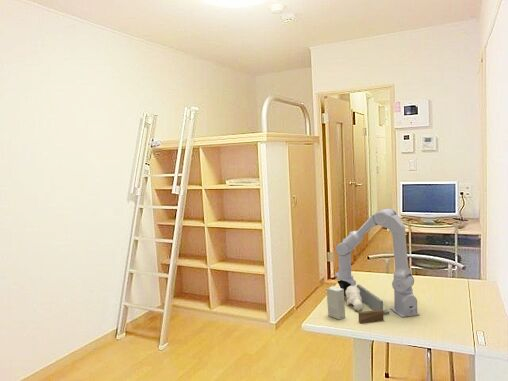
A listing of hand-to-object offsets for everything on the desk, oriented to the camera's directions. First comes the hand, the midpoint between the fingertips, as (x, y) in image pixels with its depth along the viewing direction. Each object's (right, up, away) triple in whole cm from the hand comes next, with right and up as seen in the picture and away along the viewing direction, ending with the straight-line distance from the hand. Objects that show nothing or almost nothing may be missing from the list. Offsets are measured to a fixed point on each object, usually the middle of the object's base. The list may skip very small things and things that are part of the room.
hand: (345, 296), depth 186 cm
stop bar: (+5, -3, -25) cm, 26 cm away
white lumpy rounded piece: (+2, -2, -10) cm, 11 cm away
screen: (+10, -2, -9) cm, 13 cm away
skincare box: (-8, -4, -20) cm, 21 cm away
